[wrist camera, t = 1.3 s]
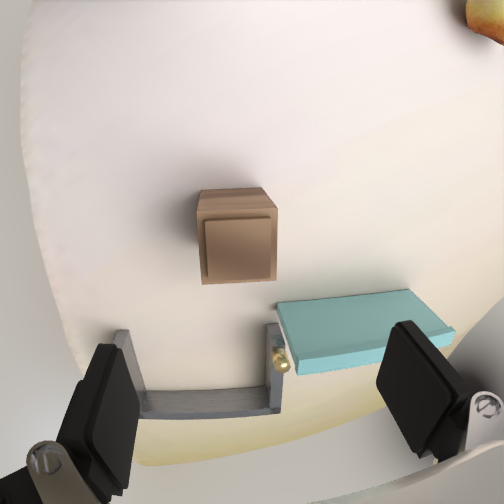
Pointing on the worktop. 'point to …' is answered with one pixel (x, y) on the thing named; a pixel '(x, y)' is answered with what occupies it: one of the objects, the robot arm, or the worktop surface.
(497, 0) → the fruit
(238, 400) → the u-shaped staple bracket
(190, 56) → the worktop surface
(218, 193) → the block
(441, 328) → the flat teal rectangular block
